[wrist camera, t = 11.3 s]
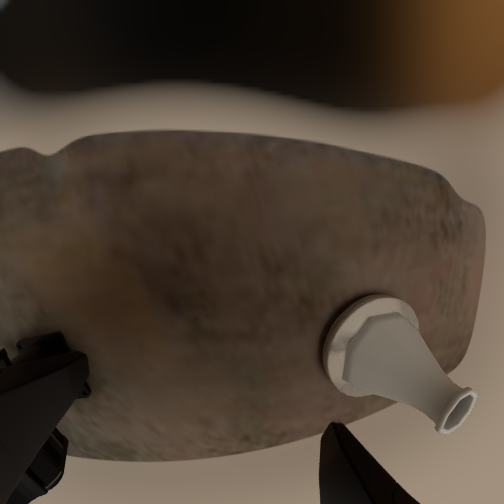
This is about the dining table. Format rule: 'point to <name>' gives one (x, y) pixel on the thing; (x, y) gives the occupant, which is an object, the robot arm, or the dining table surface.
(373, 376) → the flask
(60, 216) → the dining table surface
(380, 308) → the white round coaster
